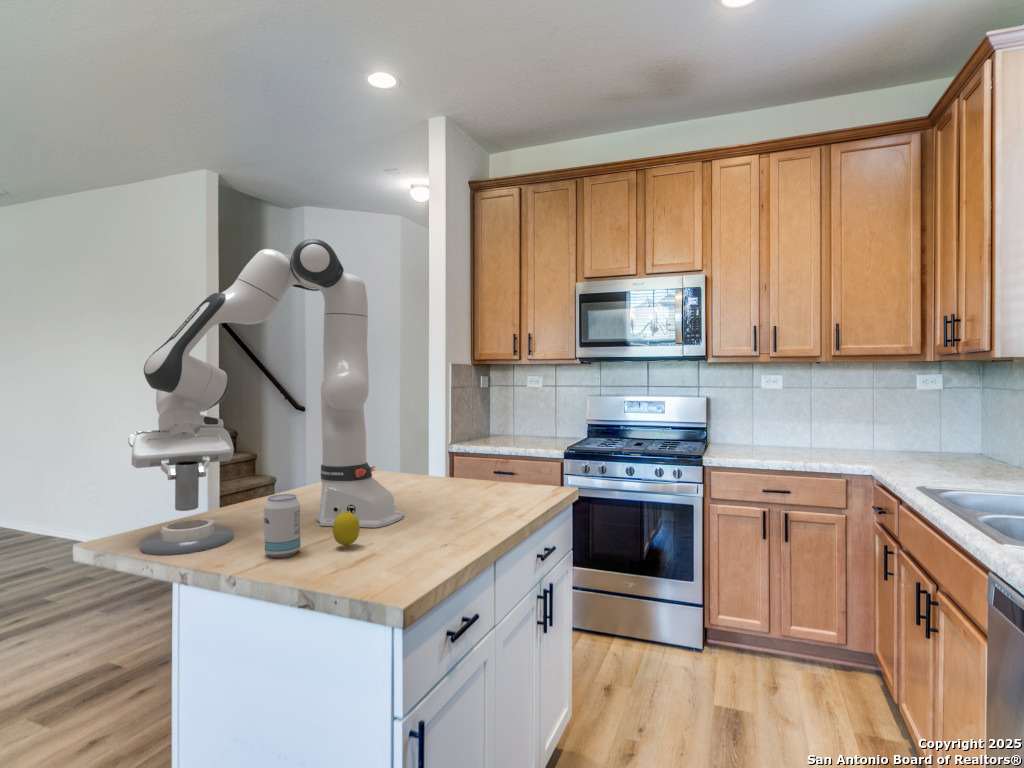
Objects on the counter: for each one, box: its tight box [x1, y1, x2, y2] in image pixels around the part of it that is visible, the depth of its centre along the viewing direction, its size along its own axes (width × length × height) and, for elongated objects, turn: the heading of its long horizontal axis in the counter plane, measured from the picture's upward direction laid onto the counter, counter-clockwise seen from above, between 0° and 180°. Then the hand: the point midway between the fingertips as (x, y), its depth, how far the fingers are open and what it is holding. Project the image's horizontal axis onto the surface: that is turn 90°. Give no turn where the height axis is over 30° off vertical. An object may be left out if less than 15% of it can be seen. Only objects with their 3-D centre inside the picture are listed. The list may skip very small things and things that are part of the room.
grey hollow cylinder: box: [174, 461, 200, 512], centre depth 126 cm, size 4×4×10 cm
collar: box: [139, 518, 234, 556], centre depth 126 cm, size 18×18×4 cm
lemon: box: [332, 511, 360, 548], centre depth 122 cm, size 6×6×8 cm
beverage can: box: [263, 493, 301, 559], centre depth 117 cm, size 7×7×12 cm
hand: (187, 476), depth 125 cm, fingers closed on grey hollow cylinder, 4 cm apart
